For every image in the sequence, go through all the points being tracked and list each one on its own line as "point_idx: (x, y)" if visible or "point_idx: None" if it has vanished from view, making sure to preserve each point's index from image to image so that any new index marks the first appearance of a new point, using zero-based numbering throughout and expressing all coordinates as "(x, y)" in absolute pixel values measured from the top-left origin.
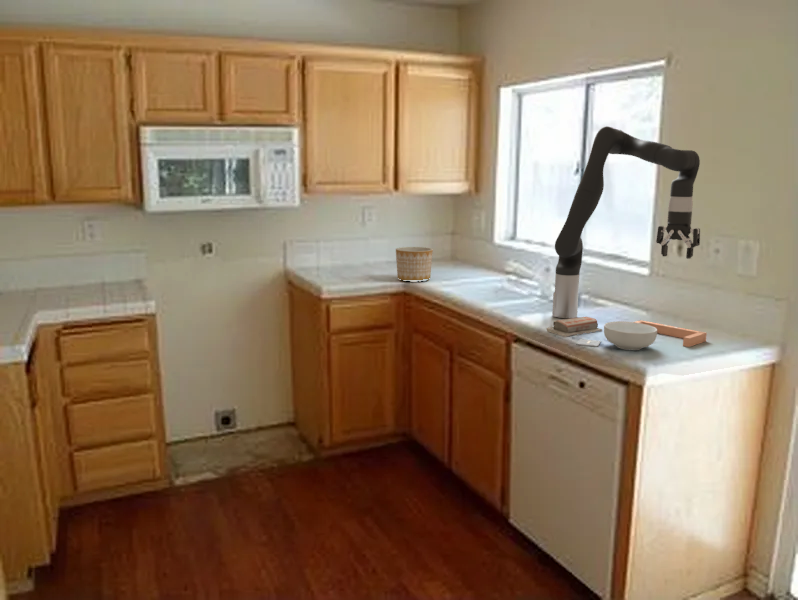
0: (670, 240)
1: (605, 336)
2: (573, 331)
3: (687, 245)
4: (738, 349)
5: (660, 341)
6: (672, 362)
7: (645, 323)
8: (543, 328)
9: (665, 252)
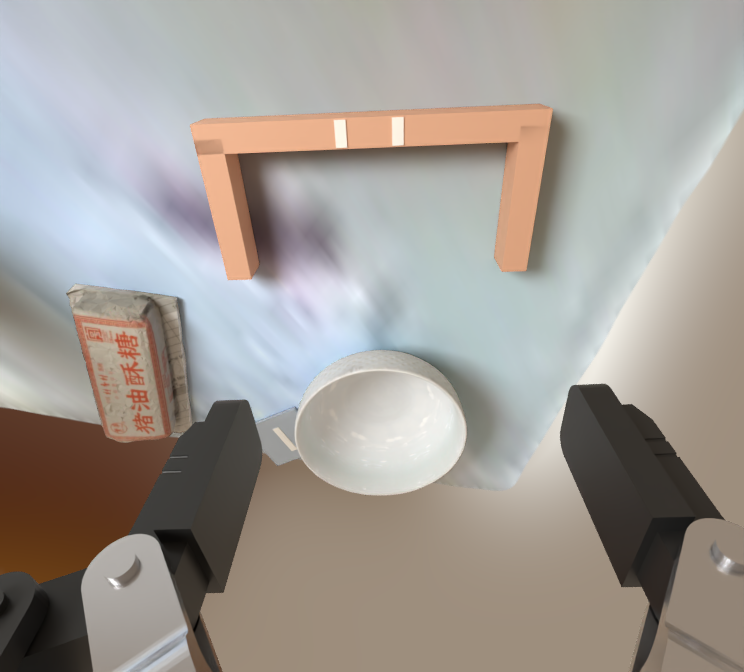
0: (192, 643)
1: (334, 457)
2: (175, 403)
3: (650, 639)
4: (696, 125)
5: (404, 262)
6: (542, 426)
7: (241, 151)
8: (72, 405)
9: (243, 473)
